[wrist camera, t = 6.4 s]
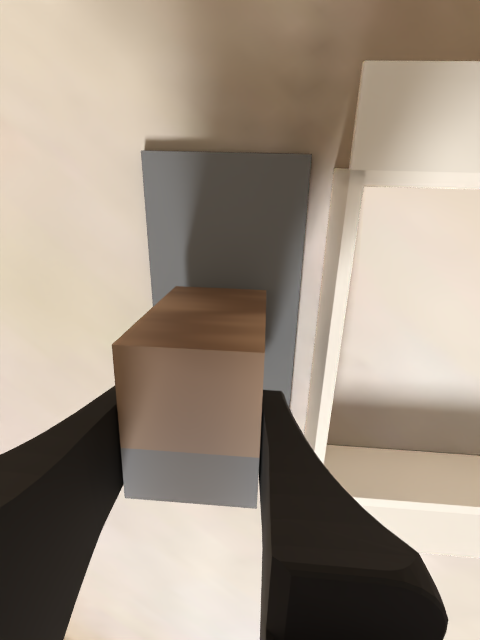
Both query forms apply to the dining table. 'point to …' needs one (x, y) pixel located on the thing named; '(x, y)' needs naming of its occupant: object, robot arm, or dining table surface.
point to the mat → (232, 234)
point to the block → (193, 397)
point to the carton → (346, 196)
